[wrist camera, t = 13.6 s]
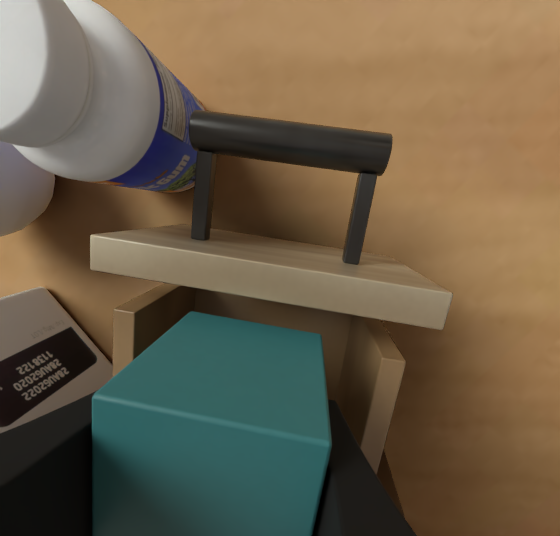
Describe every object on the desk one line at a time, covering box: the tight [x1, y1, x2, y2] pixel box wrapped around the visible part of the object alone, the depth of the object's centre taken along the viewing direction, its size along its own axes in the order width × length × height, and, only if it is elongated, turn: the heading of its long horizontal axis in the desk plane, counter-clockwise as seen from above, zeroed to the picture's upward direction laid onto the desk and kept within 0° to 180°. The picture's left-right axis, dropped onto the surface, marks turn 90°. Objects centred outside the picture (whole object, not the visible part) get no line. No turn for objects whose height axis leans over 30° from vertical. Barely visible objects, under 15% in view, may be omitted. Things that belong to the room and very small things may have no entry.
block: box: [92, 311, 332, 536], centre depth 8 cm, size 4×4×4 cm
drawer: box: [90, 110, 453, 474], centre depth 13 cm, size 18×11×7 cm, turn 172°
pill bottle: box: [0, 0, 206, 193], centre depth 11 cm, size 5×5×10 cm
